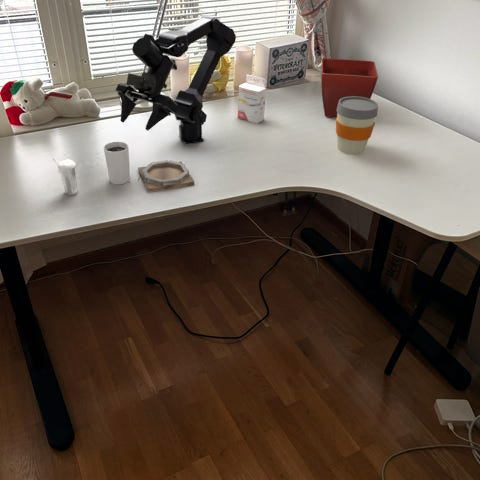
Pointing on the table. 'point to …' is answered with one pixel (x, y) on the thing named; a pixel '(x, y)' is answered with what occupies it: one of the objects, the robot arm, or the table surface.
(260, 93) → the ink cartridge box
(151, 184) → the ring board
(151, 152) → the table surface
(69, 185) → the milkshake
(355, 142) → the reusable coffee cup
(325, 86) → the plant pot
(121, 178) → the white cup
